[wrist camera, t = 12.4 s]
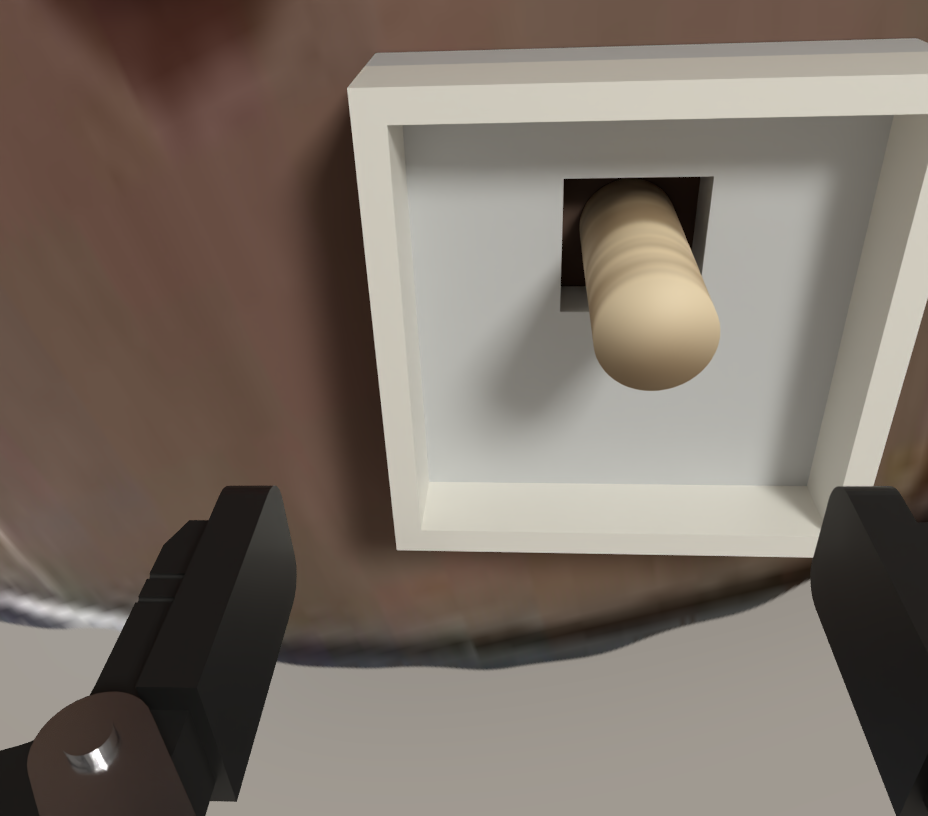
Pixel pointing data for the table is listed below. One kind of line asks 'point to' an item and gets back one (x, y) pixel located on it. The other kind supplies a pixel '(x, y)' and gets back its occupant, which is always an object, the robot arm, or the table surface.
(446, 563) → the table surface
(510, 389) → the tray
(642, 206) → the peg
